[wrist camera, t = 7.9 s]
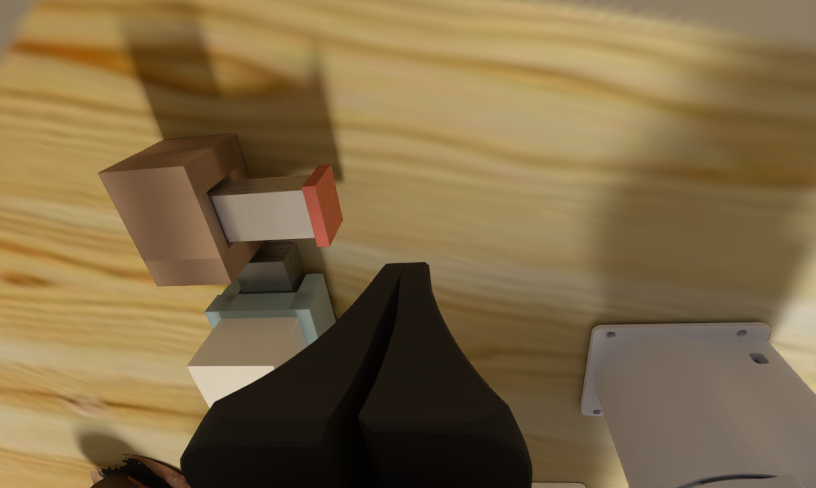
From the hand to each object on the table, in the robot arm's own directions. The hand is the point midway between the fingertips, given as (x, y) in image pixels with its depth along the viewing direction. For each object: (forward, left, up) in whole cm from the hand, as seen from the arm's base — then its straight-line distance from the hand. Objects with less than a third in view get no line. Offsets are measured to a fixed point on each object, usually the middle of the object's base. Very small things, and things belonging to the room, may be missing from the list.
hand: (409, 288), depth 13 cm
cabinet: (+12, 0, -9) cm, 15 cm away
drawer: (+7, 0, -8) cm, 11 cm away
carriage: (+10, +8, -9) cm, 16 cm away
